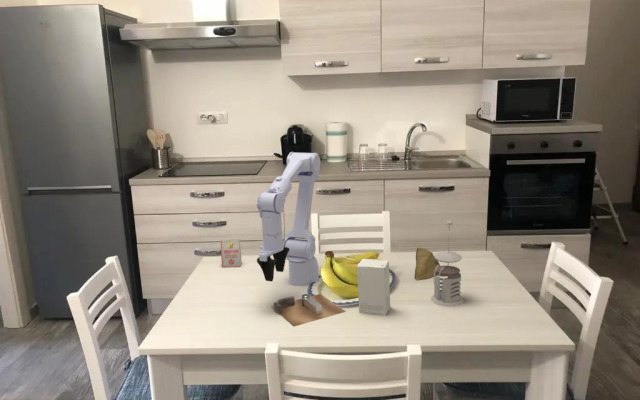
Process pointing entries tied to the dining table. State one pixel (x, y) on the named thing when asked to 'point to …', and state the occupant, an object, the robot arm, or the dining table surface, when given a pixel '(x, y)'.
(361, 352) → the dining table surface
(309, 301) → the swing bar
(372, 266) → the skincare box
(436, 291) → the french press
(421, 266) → the rock
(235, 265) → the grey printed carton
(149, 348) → the dining table surface
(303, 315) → the lock board
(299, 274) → the robot arm
